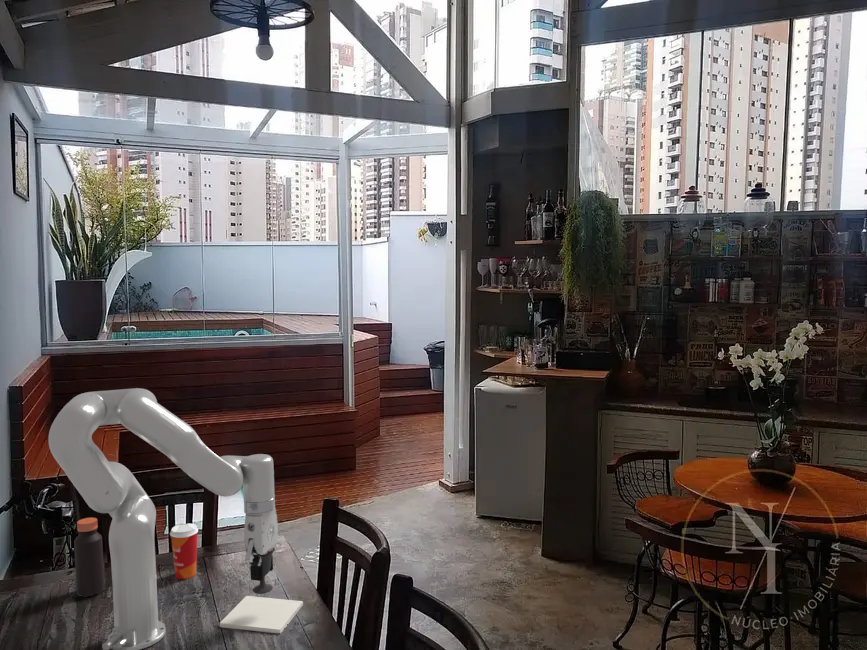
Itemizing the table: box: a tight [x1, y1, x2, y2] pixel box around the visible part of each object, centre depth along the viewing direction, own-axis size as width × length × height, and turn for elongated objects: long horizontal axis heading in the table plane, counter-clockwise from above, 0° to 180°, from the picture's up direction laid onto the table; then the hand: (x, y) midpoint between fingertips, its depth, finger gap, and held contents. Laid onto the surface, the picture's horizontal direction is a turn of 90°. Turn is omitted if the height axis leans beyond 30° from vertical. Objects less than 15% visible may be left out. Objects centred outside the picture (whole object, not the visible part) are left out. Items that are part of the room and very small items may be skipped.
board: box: [219, 595, 304, 634], centre depth 168 cm, size 14×16×1 cm
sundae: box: [252, 546, 276, 595], centre depth 167 cm, size 7×7×15 cm
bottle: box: [73, 517, 105, 597], centre depth 181 cm, size 7×7×20 cm
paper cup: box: [169, 523, 199, 580], centre depth 191 cm, size 8×8×14 cm
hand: (262, 574), depth 168 cm, fingers closed on sundae, 4 cm apart
